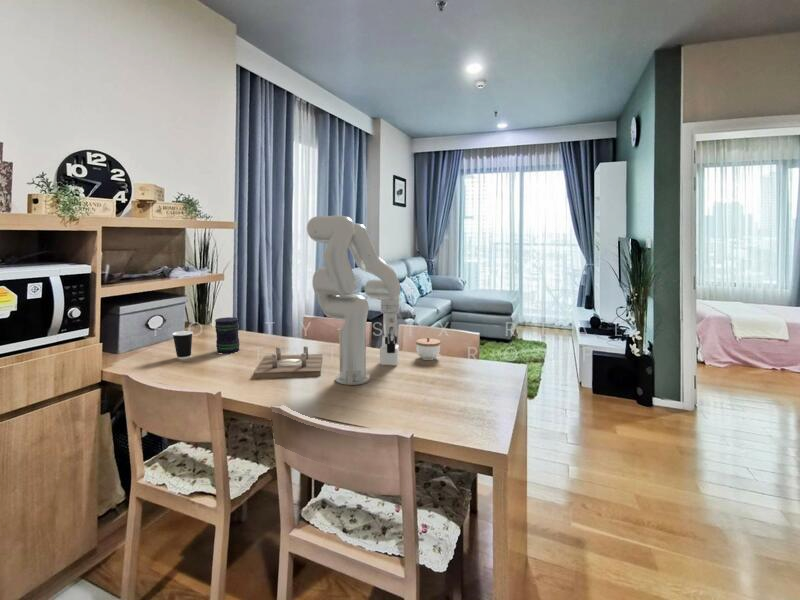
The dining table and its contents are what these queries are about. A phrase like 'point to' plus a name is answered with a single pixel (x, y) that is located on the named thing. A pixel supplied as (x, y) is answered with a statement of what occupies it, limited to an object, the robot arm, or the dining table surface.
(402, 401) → the dining table surface
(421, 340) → the lidded jar
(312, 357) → the peg board
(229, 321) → the storage jar
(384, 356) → the medicine bottle
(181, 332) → the dixie cup
